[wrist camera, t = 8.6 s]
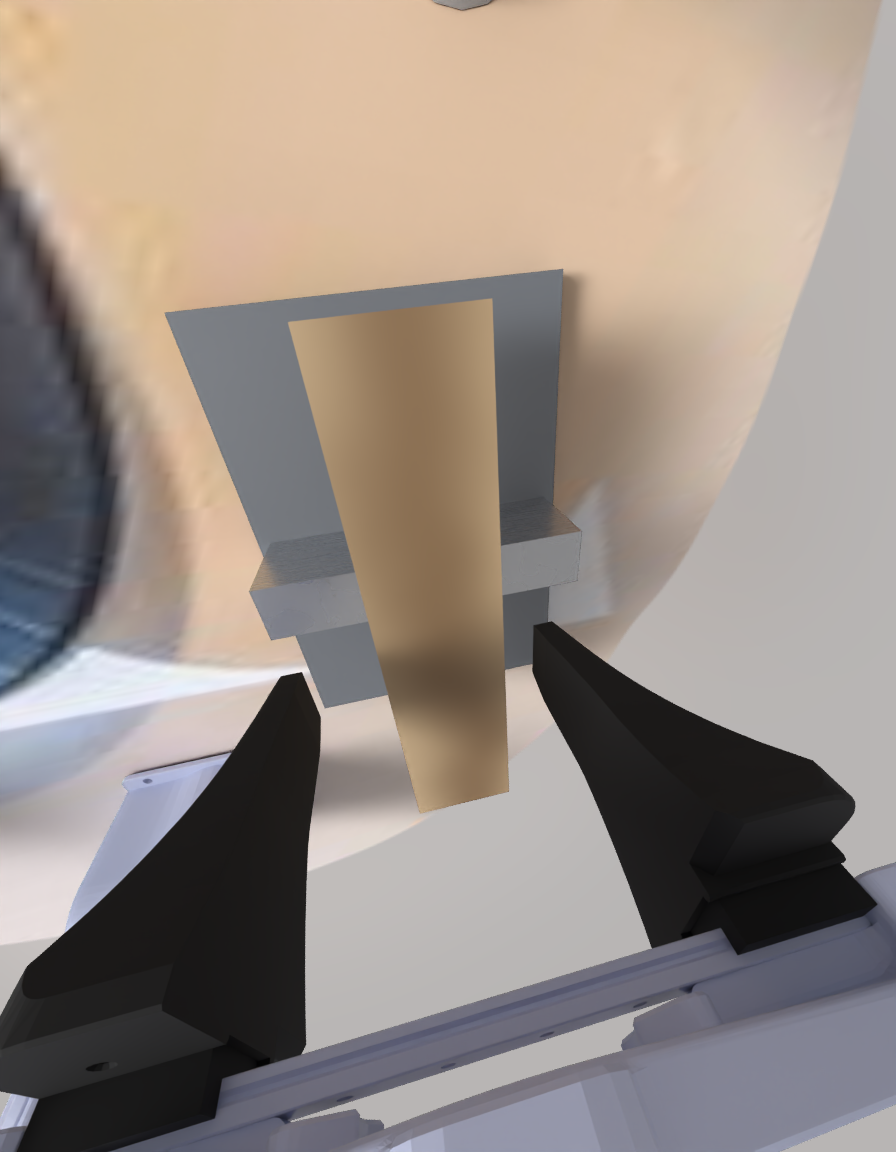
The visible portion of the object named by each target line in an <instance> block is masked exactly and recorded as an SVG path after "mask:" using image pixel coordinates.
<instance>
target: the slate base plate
mask: <svg viewBox="0 0 896 1152" xmlns="http://www.w3.org/2000/svg"><path fill="white" fill-rule="evenodd" d="M562 283H563V269H558V270H549V271H540V272H531V273H522V274H513V275H504V276H495V277H485V278H476V279H467V280H458V281H449V282H440V283H431V284H422V285H413V286H403V287H394V288H385V289H376V290H367V291H358V292H349V293H340V294H331V295H321V296H312V297H303V298H294V299H285V300H276V301H267V302H258V303H249V304H239V305H230V306H221V307H212V308H203V309H194V310H185V311H176V312H166V313H165V316H166V318H167V320H168V323H169V325H170V328H171V330H172V333H173V335H174V338H175V340H176V343H177V345H178V348H179V350H180V352H181V355H182V357H183V360H184V362H185V365H186V367H187V370H188V372H189V375H190V377H191V380H192V382H193V384H194V387H195V389H196V392H197V394H198V397H199V399H200V402H201V404H202V407H203V409H204V412H205V414H206V417H207V419H208V421H209V424H210V426H211V429H212V431H213V434H214V436H215V439H216V441H217V444H218V446H219V449H220V451H221V453H222V456H223V458H224V461H225V463H226V466H227V468H228V471H229V473H230V476H231V478H232V481H233V483H234V485H235V488H236V490H237V493H238V495H239V498H240V500H241V503H242V505H243V508H244V510H245V513H246V515H247V517H248V520H249V522H250V525H251V527H252V530H253V532H254V535H255V537H256V540H257V542H258V545H259V547H260V550H261V552H262V554H263V557H264V556H265V554H266V551H267V549H268V547H269V544H270V543H274V542H280V541H286V540H292V539H298V538H304V537H310V536H315V535H321V534H327V533H333V532H339V531H344V529H343V526H342V522H341V518H340V514H339V511H338V507H337V503H336V499H335V496H334V492H333V488H332V485H331V481H330V477H329V473H328V470H327V466H326V462H325V459H324V455H323V451H322V447H321V444H320V440H319V436H318V433H317V429H316V425H315V421H314V418H313V414H312V410H311V407H310V403H309V399H308V395H307V392H306V388H305V384H304V381H303V377H302V373H301V369H300V366H299V362H298V358H297V355H296V351H295V347H294V343H293V340H292V336H291V332H290V329H289V325H288V322H292V321H301V320H309V319H318V318H327V317H335V316H344V315H352V314H361V313H370V312H378V311H387V310H396V309H404V308H413V307H422V306H430V305H439V304H448V303H456V302H465V301H474V300H482V299H491V298H492V302H493V332H494V362H495V391H496V421H497V451H498V481H499V504H503V503H509V502H515V501H521V500H527V499H533V498H539V497H544V498H545V499H547V500H548V501H549V502H550V503H551V504H552V505H553V488H554V465H555V442H556V420H557V397H558V374H559V351H560V329H561V306H562ZM502 599H503V629H504V659H505V670H506V669H510V668H515V667H520V666H524V665H529V664H533V625H536V624H541V623H546V622H548V602H549V586H548V587H543V588H538V589H532V590H527V591H522V592H517V593H512V594H507V595H502ZM296 638H297V641H298V643H299V646H300V648H301V650H302V653H303V655H304V658H305V660H306V663H307V665H308V668H309V670H310V673H311V675H312V678H313V680H314V683H315V685H316V687H317V690H318V692H319V695H320V697H321V700H322V702H323V705H324V707H325V708H329V707H333V706H338V705H343V704H347V703H352V702H357V701H361V700H366V699H371V698H375V697H380V696H385V695H388V693H387V689H386V685H385V682H384V678H383V674H382V670H381V667H380V663H379V659H378V656H377V652H376V648H375V644H374V641H373V637H372V633H371V630H370V626H369V622H363V623H358V624H353V625H348V626H342V627H337V628H332V629H327V630H322V631H317V632H312V633H306V634H301V635H296Z"/></svg>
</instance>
